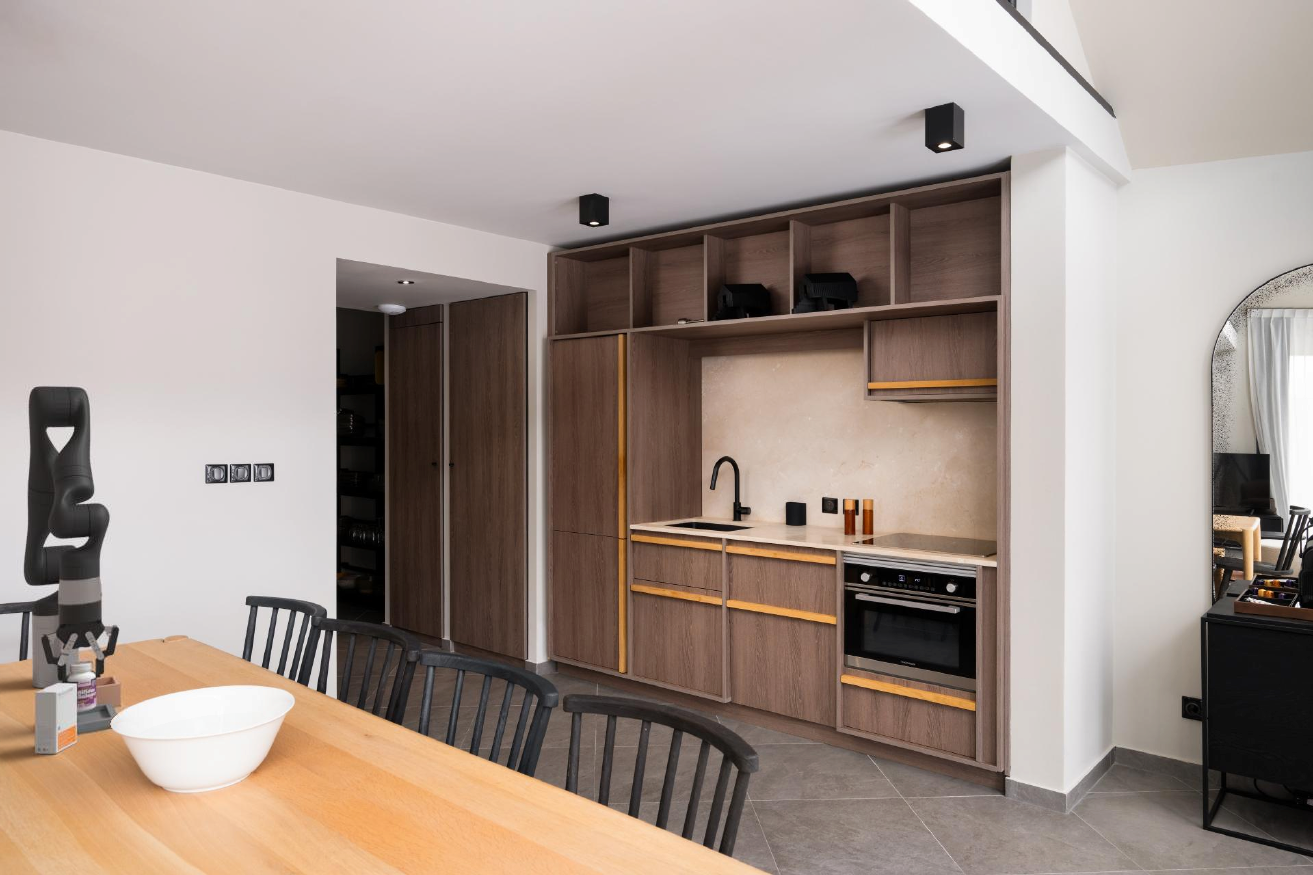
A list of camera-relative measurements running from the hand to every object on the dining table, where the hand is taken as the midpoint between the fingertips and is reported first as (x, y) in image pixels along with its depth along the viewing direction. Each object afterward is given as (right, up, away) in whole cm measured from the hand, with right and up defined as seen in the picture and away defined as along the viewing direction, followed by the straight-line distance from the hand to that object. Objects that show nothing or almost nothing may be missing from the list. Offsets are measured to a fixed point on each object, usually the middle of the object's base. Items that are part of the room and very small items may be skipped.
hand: (80, 679), depth 179 cm
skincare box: (+4, -10, -12) cm, 16 cm away
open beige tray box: (-5, -9, +13) cm, 17 cm away
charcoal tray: (0, -10, 0) cm, 10 cm away
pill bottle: (0, -6, 0) cm, 6 cm away
